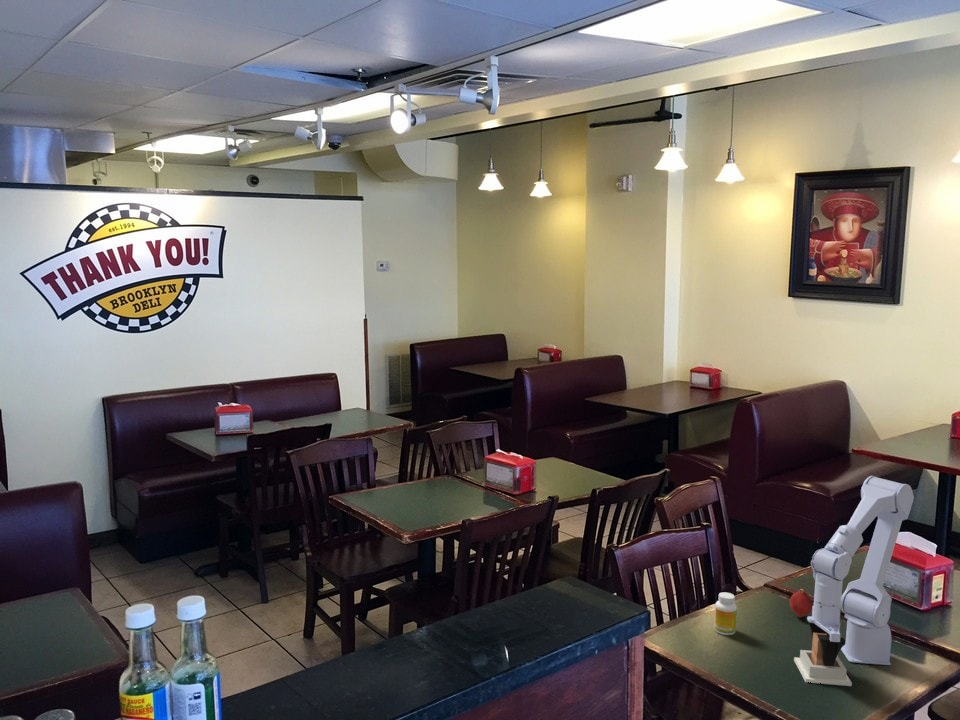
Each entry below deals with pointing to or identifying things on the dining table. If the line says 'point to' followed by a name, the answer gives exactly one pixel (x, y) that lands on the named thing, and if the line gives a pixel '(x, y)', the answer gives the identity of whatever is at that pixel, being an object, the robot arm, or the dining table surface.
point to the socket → (821, 671)
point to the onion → (801, 603)
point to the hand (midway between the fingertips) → (823, 656)
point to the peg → (817, 651)
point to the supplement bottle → (725, 614)
